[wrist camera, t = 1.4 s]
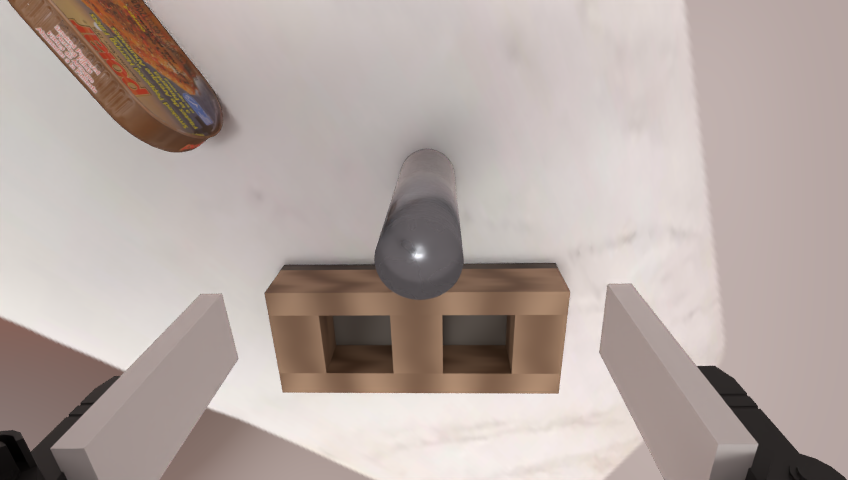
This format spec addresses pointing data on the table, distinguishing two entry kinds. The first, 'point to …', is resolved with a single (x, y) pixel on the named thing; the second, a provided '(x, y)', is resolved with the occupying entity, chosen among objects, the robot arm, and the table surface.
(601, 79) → the table surface
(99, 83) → the tin
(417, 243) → the pin
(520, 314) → the bore block
